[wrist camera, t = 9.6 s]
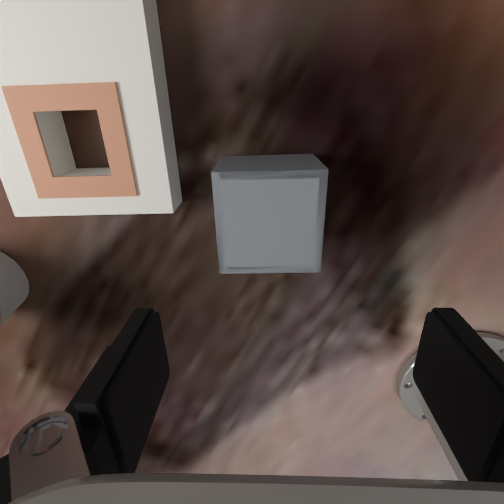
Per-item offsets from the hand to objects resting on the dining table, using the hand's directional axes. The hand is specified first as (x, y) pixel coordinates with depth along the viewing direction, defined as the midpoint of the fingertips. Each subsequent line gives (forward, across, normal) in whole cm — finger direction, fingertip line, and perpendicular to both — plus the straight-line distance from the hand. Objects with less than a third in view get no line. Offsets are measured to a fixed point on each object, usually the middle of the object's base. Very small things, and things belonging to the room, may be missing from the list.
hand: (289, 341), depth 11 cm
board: (+16, +14, -11) cm, 24 cm away
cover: (+16, +1, -1) cm, 16 cm away
